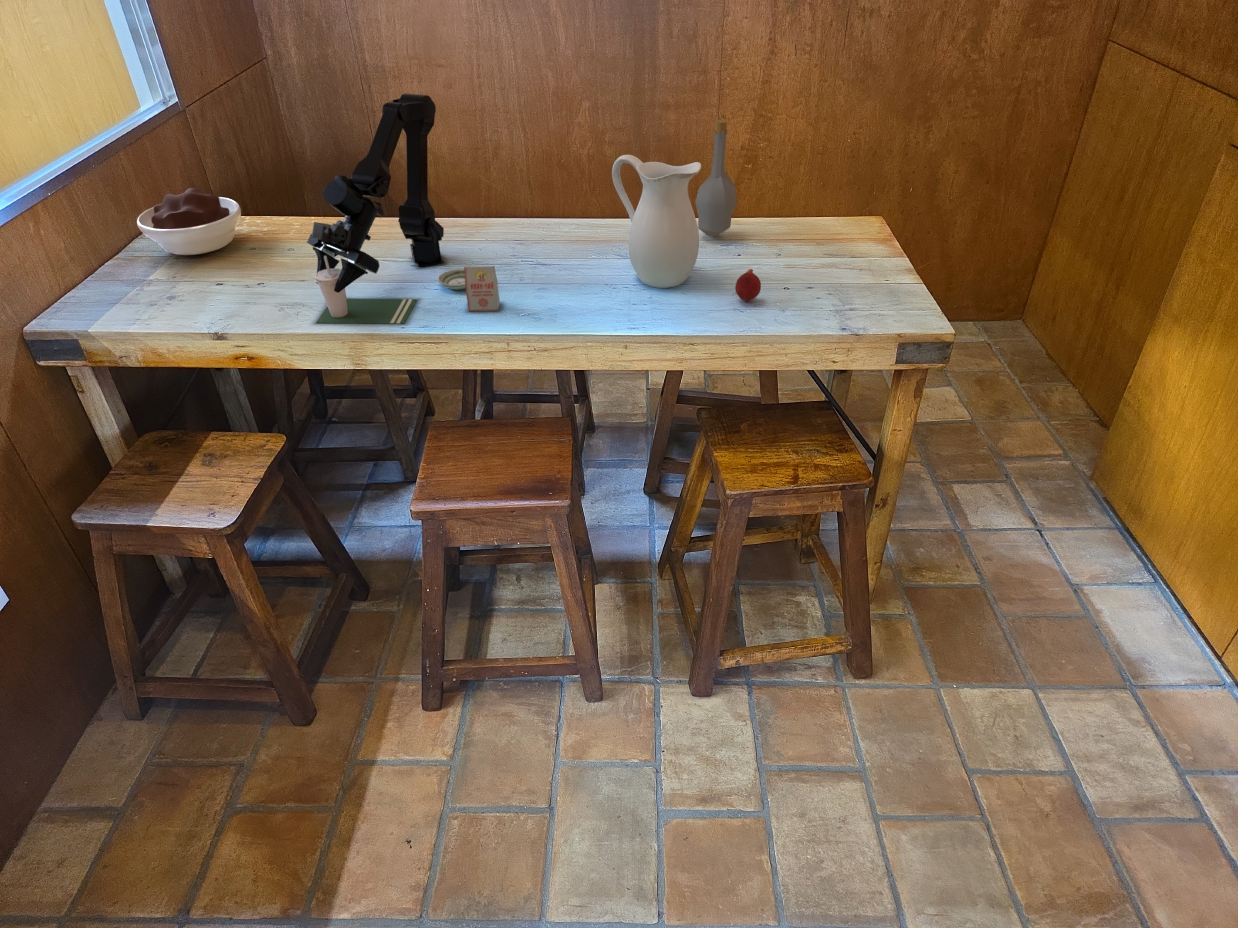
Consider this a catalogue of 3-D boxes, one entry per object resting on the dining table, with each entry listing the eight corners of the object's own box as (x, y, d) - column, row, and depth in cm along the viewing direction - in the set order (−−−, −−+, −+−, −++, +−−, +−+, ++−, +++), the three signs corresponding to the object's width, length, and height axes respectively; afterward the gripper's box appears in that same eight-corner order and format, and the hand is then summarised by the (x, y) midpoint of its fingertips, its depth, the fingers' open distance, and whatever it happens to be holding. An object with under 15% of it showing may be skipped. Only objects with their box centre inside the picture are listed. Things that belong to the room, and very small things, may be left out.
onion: (752, 309, 179) (756, 276, 175) (729, 303, 182) (732, 271, 177) (763, 299, 183) (766, 267, 178) (740, 294, 186) (743, 262, 181)
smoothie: (328, 322, 176) (312, 264, 167) (322, 311, 180) (306, 253, 171) (356, 316, 178) (342, 257, 169) (350, 305, 182) (336, 247, 174)
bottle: (736, 245, 209) (746, 127, 191) (694, 246, 209) (700, 127, 191) (732, 229, 218) (741, 115, 200) (691, 230, 218) (697, 115, 200)
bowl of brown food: (139, 271, 199) (115, 212, 190) (160, 235, 218) (140, 180, 209) (243, 261, 204) (225, 203, 194) (255, 226, 223) (239, 172, 214)
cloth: (416, 300, 185) (416, 299, 185) (404, 324, 175) (404, 323, 175) (333, 299, 185) (332, 298, 185) (316, 323, 176) (315, 322, 176)
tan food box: (470, 304, 183) (465, 263, 177) (499, 303, 183) (495, 263, 177) (468, 311, 180) (463, 270, 174) (498, 311, 180) (493, 270, 174)
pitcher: (710, 277, 193) (718, 161, 176) (666, 300, 184) (670, 180, 166) (638, 252, 206) (639, 141, 189) (593, 272, 196) (590, 157, 179)
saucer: (463, 274, 196) (462, 264, 195) (487, 285, 191) (486, 276, 189) (431, 286, 191) (429, 276, 189) (454, 298, 185) (452, 288, 184)
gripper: (303, 197, 171) (272, 261, 171) (356, 216, 162) (324, 284, 162) (341, 221, 181) (312, 282, 181) (393, 240, 172) (363, 304, 172)
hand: (326, 288), depth 174 cm, fingers closed on smoothie, 6 cm apart
